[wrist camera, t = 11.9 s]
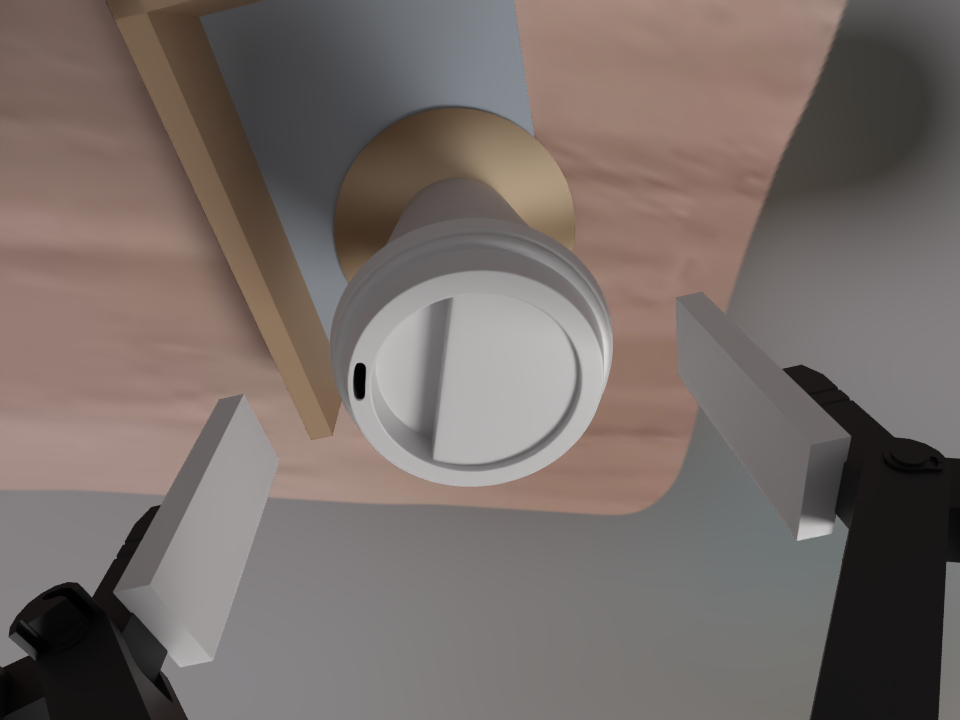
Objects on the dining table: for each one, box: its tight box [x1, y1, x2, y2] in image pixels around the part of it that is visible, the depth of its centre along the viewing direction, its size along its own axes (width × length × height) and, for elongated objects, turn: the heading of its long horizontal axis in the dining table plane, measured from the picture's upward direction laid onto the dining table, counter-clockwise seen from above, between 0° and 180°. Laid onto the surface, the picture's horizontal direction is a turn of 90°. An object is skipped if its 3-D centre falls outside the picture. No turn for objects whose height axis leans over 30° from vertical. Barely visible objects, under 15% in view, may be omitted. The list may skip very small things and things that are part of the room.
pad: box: [334, 108, 575, 282], centre depth 30 cm, size 13×13×1 cm
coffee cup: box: [330, 178, 613, 487], centre depth 24 cm, size 10×10×15 cm
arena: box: [106, 0, 534, 440], centre depth 27 cm, size 21×15×6 cm
